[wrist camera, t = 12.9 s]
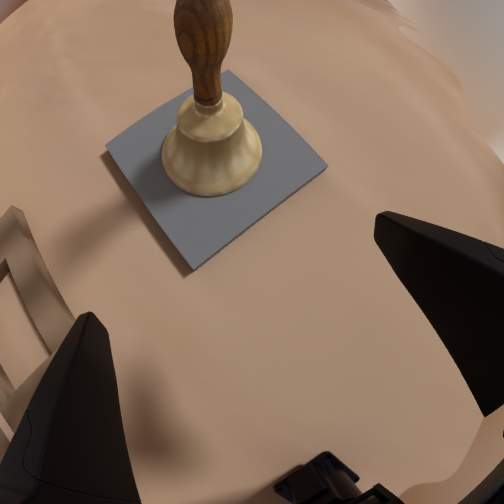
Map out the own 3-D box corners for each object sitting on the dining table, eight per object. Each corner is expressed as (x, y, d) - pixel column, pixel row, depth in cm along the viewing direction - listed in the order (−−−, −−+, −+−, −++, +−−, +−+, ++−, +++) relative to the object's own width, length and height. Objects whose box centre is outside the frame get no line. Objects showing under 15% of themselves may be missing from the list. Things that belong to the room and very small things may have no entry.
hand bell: (270, 189, 21) (348, 16, 6) (164, 204, 20) (70, 42, 5) (253, 107, 22) (283, -52, 7) (161, 119, 21) (117, -37, 6)
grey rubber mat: (324, 170, 23) (328, 165, 22) (194, 271, 21) (193, 269, 20) (228, 76, 24) (228, 69, 23) (108, 150, 22) (104, 145, 21)
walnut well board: (111, 371, 19) (101, 377, 17) (29, 435, 16) (20, 441, 14) (22, 210, 20) (11, 205, 18) (-40, 299, 17) (-51, 299, 15)
